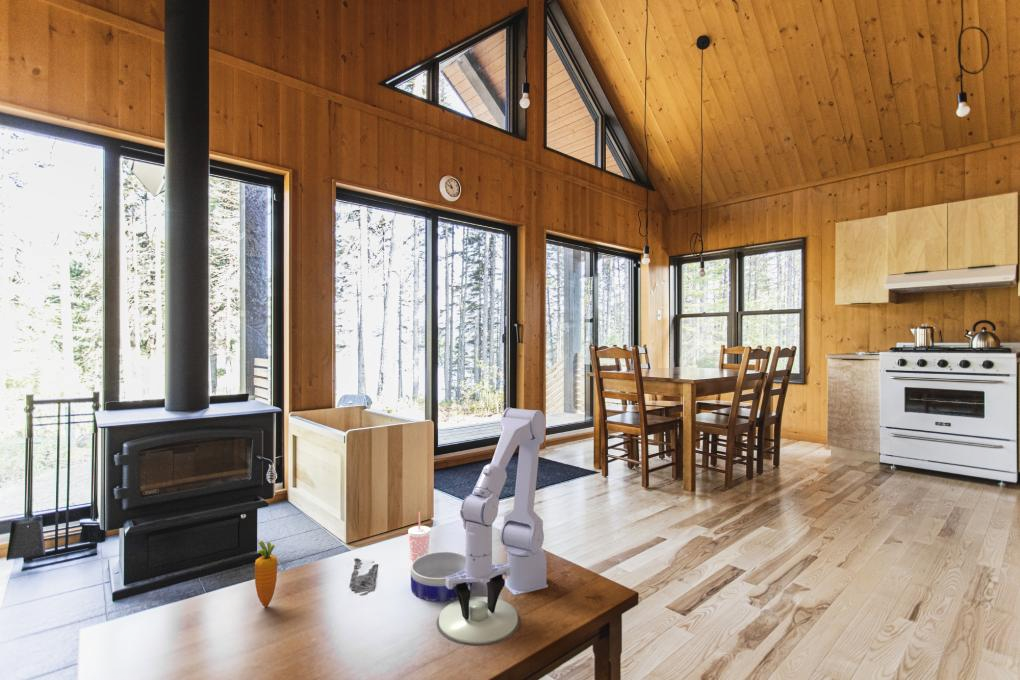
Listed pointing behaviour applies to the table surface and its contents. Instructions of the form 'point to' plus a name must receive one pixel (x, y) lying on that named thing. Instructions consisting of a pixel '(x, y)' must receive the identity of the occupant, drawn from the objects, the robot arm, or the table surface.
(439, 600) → the dog bowl
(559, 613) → the table surface
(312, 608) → the table surface
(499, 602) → the lid
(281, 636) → the table surface
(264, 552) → the carrot
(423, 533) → the beverage cup
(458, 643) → the mat
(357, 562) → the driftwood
